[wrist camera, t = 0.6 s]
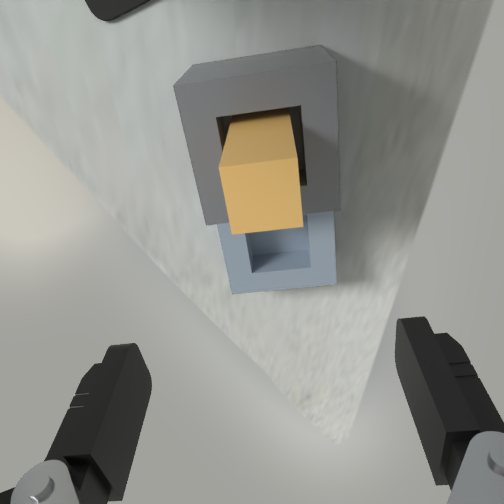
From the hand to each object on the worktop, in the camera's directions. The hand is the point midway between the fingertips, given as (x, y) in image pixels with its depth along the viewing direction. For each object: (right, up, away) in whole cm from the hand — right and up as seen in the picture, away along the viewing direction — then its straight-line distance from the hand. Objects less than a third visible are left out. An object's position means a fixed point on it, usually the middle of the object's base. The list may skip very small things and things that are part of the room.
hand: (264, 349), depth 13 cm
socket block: (+1, +10, +24) cm, 26 cm away
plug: (0, +11, +17) cm, 21 cm away
